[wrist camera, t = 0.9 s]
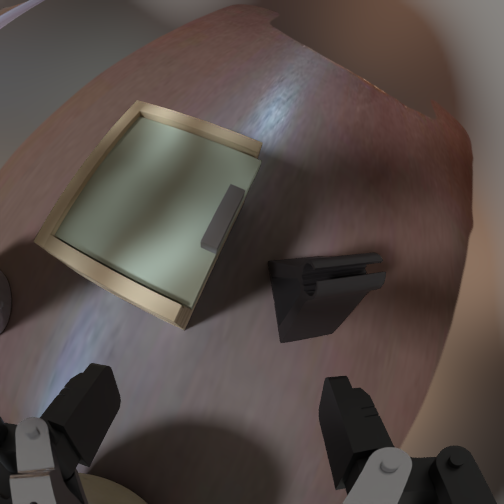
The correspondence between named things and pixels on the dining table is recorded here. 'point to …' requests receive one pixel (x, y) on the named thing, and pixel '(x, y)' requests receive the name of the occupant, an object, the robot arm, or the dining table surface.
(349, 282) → the phone stand
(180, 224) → the bread box
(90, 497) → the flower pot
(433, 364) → the dining table surface
